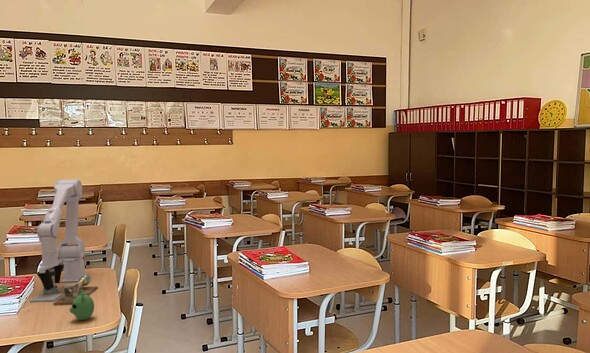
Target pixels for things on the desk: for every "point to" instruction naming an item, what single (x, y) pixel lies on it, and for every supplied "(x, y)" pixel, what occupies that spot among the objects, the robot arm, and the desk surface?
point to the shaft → (80, 283)
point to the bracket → (69, 298)
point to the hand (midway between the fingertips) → (52, 285)
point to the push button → (53, 286)
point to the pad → (46, 298)
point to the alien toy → (82, 306)
